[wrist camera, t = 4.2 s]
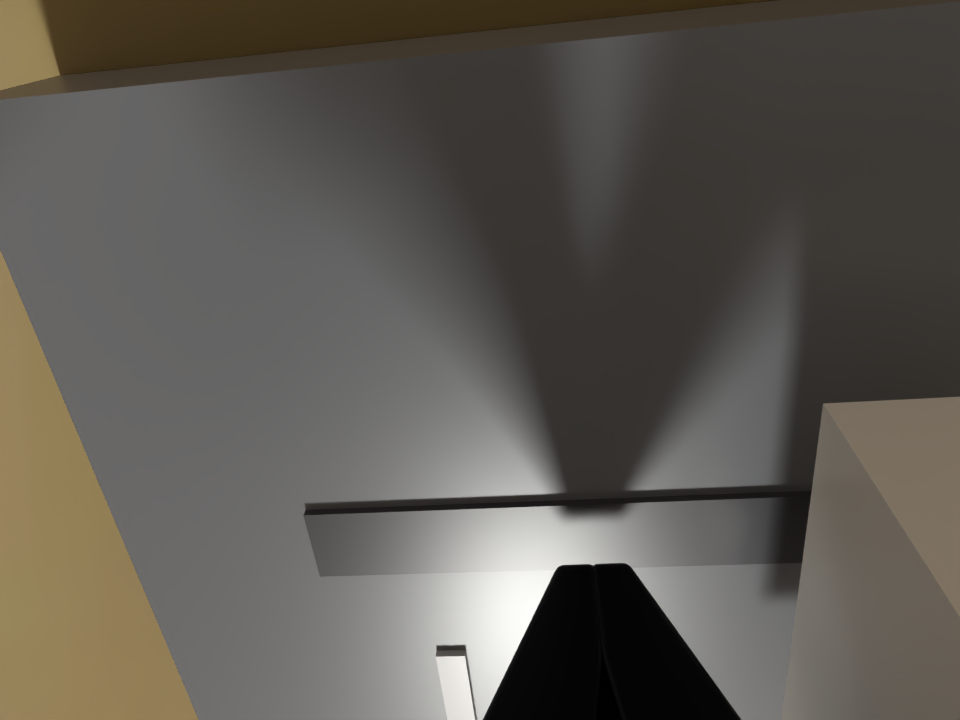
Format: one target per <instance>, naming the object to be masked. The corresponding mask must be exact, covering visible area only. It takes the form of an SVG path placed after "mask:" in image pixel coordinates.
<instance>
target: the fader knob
mask: <svg viewBox="0 0 960 720" xmlns="http://www.w3.org/2000/svg"><path fill="white" fill-rule="evenodd" d="M781 720H960V397H943V398H924V399H904V400H884V401H864V402H844V403H824V404H823V408H822V416H821V424H820V431H819V439H818V446H817V454H816V461H815V469H814V477H813V484H812V492H811V499H810V507H809V514H808V522H807V530H806V537H805V545H804V552H803V560H802V567H801V575H800V583H799V590H798V598H797V605H796V613H795V621H794V628H793V636H792V643H791V651H790V658H789V666H788V674H787V681H786V689H785V696H784V704H783V711H782V719H781Z"/></svg>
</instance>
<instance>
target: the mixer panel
mask: <svg viewBox="0 0 960 720" xmlns="http://www.w3.org/2000/svg"><path fill="white" fill-rule="evenodd" d="M0 250H1V252H2V255H3V257H4V259H5V262H6V264H7V266H8V269H9V271H10V274H11V276H12V278H13V281H14V283H15V285H16V288H17V290H18V292H19V295H20V297H21V300H22V302H23V304H24V307H25V309H26V311H27V314H28V316H29V319H30V321H31V323H32V326H33V328H34V330H35V333H36V335H37V338H38V340H39V342H40V345H41V347H42V349H43V352H44V354H45V356H46V359H47V361H48V364H49V366H50V368H51V371H52V373H53V375H54V378H55V380H56V383H57V385H58V387H59V390H60V392H61V394H62V397H63V399H64V402H65V404H66V406H67V409H68V411H69V413H70V416H71V418H72V420H73V423H74V425H75V428H76V430H77V432H78V435H79V437H80V439H81V442H82V444H83V447H84V449H85V451H86V454H87V456H88V458H89V461H90V463H91V466H92V468H93V470H94V473H95V475H96V477H97V480H98V482H99V484H100V487H101V489H102V492H103V494H104V496H105V499H106V501H107V503H108V506H109V508H110V511H111V513H112V515H113V518H114V520H115V522H116V525H117V527H118V530H119V532H120V534H121V537H122V539H123V541H124V544H125V546H126V548H127V551H128V553H129V556H130V558H131V560H132V563H133V565H134V567H135V570H136V572H137V575H138V577H139V579H140V582H141V584H142V586H143V589H144V591H145V594H146V596H147V598H148V601H149V603H150V605H151V608H152V610H153V612H154V615H155V617H156V620H157V622H158V624H159V627H160V629H161V631H162V634H163V636H164V639H165V641H166V643H167V646H168V648H169V650H170V653H171V655H172V658H173V660H174V662H175V665H176V667H177V669H178V672H179V674H180V676H181V679H182V681H183V684H184V686H185V688H186V691H187V693H188V695H189V698H190V700H191V703H192V705H193V707H194V710H195V712H196V714H197V717H198V719H199V720H483V718H484V716H485V714H486V712H487V710H488V708H489V706H490V704H491V701H492V699H493V697H494V695H495V693H496V691H497V689H498V687H499V685H500V683H501V681H502V679H503V677H504V675H505V673H506V671H507V669H508V666H509V664H510V662H511V660H512V658H513V656H514V654H515V652H516V650H517V648H518V646H519V644H520V642H521V640H522V638H523V636H524V634H525V632H526V629H527V627H528V625H529V623H530V621H531V619H532V617H533V615H534V613H535V611H536V609H537V607H538V605H539V603H540V601H541V599H542V597H543V594H544V592H545V590H546V588H547V586H548V584H549V582H550V580H551V578H552V576H553V574H554V572H555V570H556V569H557V568H558V567H559V566H561V565H576V564H591V565H595V564H607V563H626V564H628V565H629V566H631V568H632V569H633V570H634V571H635V573H636V574H637V576H638V577H639V578H640V580H641V581H642V582H643V584H644V585H645V587H646V588H647V589H648V591H649V592H650V593H651V595H652V596H653V598H654V599H655V600H656V602H657V603H658V605H659V606H660V607H661V609H662V610H663V611H664V613H665V614H666V616H667V617H668V618H669V620H670V621H671V623H672V624H673V625H674V627H675V628H676V629H677V631H678V632H679V634H680V635H681V636H682V638H683V639H684V641H685V642H686V643H687V645H688V646H689V647H690V649H691V650H692V652H693V653H694V654H695V656H696V657H697V659H698V660H699V661H700V663H701V664H702V665H703V667H704V668H705V670H706V671H707V672H708V674H709V675H710V677H711V678H712V679H713V681H714V682H715V683H716V685H717V686H718V688H719V689H720V690H721V692H722V693H723V695H724V696H725V697H726V699H727V700H728V701H729V703H730V704H731V706H732V707H733V708H734V710H735V711H736V713H737V714H738V715H739V717H740V718H741V719H742V720H781V719H782V711H783V704H784V696H785V689H786V681H787V674H788V666H789V658H790V651H791V643H792V636H793V628H794V621H795V613H796V605H797V598H798V590H799V583H800V575H801V567H802V560H803V552H804V545H805V537H806V530H807V522H808V514H809V507H810V499H811V492H812V484H813V477H814V469H815V461H816V454H817V446H818V439H819V431H820V424H821V416H822V408H823V404H824V403H844V402H864V401H884V400H904V399H924V398H943V397H960V0H775V1H765V2H756V3H746V4H737V5H727V6H718V7H708V8H699V9H689V10H680V11H670V12H661V13H651V14H642V15H632V16H623V17H613V18H604V19H594V20H585V21H575V22H566V23H556V24H547V25H537V26H528V27H518V28H509V29H499V30H490V31H480V32H471V33H461V34H452V35H442V36H433V37H423V38H414V39H404V40H395V41H385V42H376V43H366V44H357V45H347V46H338V47H328V48H319V49H309V50H299V51H290V52H280V53H271V54H261V55H252V56H242V57H233V58H223V59H214V60H204V61H195V62H185V63H176V64H166V65H157V66H147V67H138V68H128V69H119V70H109V71H100V72H90V73H81V74H71V75H62V76H55V77H52V78H48V79H44V80H40V81H36V82H32V83H28V84H24V85H20V86H16V87H12V88H8V89H4V90H0Z"/></svg>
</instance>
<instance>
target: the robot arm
mask: <svg viewBox="0 0 960 720" xmlns="http://www.w3.org/2000/svg"><path fill="white" fill-rule="evenodd" d="M483 720H742V719H741V718H740V717H739V715H738V714H737V713H736V711H735V710H734V708H733V707H732V706H731V704H730V703H729V701H728V700H727V699H726V697H725V696H724V695H723V693H722V692H721V690H720V689H719V688H718V686H717V685H716V683H715V682H714V681H713V679H712V678H711V677H710V675H709V674H708V672H707V671H706V670H705V668H704V667H703V665H702V664H701V663H700V661H699V660H698V659H697V657H696V656H695V654H694V653H693V652H692V650H691V649H690V647H689V646H688V645H687V643H686V642H685V641H684V639H683V638H682V636H681V635H680V634H679V632H678V631H677V629H676V628H675V627H674V625H673V624H672V623H671V621H670V620H669V618H668V617H667V616H666V614H665V613H664V611H663V610H662V609H661V607H660V606H659V605H658V603H657V602H656V600H655V599H654V598H653V596H652V595H651V593H650V592H649V591H648V589H647V588H646V587H645V585H644V584H643V582H642V581H641V580H640V578H639V577H638V576H637V574H636V573H635V571H634V570H633V569H632V568H631V566H629V565H628V564H626V563H607V564H595V565H591V564H576V565H561V566H559V567H558V568H557V569H556V570H555V572H554V574H553V576H552V578H551V580H550V582H549V584H548V586H547V588H546V590H545V592H544V594H543V597H542V599H541V601H540V603H539V605H538V607H537V609H536V611H535V613H534V615H533V617H532V619H531V621H530V623H529V625H528V627H527V629H526V632H525V634H524V636H523V638H522V640H521V642H520V644H519V646H518V648H517V650H516V652H515V654H514V656H513V658H512V660H511V662H510V664H509V666H508V669H507V671H506V673H505V675H504V677H503V679H502V681H501V683H500V685H499V687H498V689H497V691H496V693H495V695H494V697H493V699H492V701H491V704H490V706H489V708H488V710H487V712H486V714H485V716H484V718H483Z"/></svg>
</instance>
